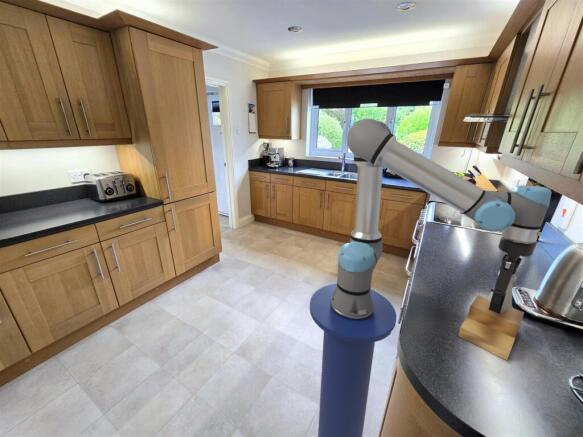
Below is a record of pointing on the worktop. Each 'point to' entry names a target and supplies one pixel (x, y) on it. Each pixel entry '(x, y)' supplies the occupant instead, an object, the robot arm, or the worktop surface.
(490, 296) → the salt shaker
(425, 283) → the worktop surface
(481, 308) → the stepped wooden block
